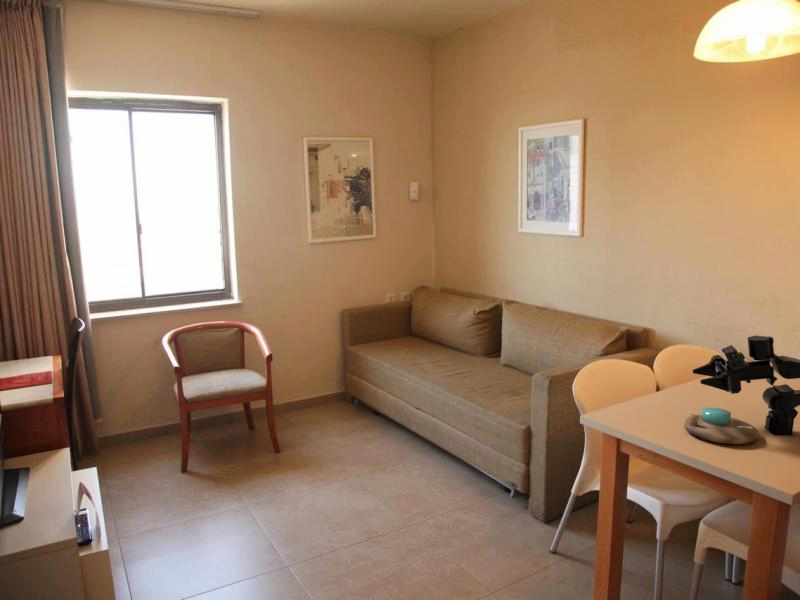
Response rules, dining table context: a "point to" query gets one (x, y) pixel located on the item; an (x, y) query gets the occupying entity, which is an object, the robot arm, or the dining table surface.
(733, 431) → the disc
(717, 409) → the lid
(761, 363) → the robot arm
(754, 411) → the dining table surface
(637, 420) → the dining table surface
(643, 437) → the dining table surface
